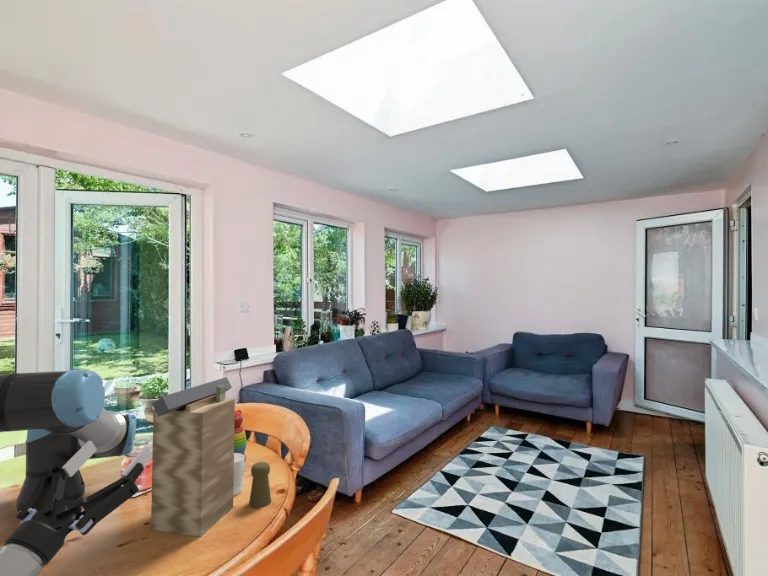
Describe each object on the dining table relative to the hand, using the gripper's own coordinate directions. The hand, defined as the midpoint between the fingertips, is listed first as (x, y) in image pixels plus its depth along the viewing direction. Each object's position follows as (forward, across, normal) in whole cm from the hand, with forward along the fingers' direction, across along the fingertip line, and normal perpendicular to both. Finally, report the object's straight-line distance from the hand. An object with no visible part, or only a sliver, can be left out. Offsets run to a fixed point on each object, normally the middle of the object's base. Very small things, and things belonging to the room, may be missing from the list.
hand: (120, 447), depth 83 cm
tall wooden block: (+7, 0, -36) cm, 36 cm away
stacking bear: (+37, -11, -53) cm, 66 cm away
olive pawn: (+17, +13, -41) cm, 46 cm away
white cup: (+20, +1, -43) cm, 48 cm away
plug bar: (+22, +1, -9) cm, 24 cm away
